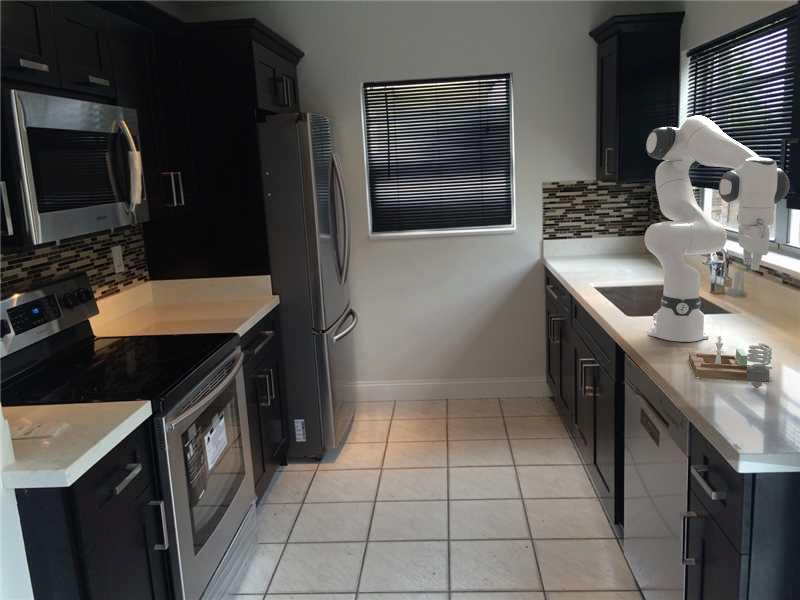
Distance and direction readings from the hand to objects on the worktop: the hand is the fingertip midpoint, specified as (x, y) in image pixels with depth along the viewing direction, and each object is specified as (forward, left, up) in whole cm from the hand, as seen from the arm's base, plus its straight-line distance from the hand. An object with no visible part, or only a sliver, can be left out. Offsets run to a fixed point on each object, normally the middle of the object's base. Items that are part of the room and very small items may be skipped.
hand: (751, 267), depth 187 cm
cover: (+6, +2, -26) cm, 27 cm away
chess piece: (+7, -7, -29) cm, 31 cm away
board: (+6, -5, -29) cm, 30 cm away
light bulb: (+19, 0, -29) cm, 35 cm away
